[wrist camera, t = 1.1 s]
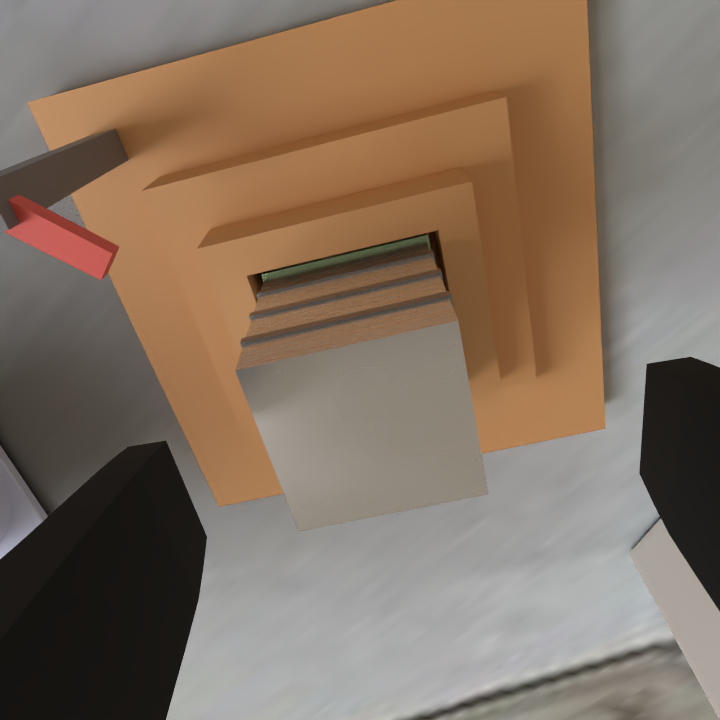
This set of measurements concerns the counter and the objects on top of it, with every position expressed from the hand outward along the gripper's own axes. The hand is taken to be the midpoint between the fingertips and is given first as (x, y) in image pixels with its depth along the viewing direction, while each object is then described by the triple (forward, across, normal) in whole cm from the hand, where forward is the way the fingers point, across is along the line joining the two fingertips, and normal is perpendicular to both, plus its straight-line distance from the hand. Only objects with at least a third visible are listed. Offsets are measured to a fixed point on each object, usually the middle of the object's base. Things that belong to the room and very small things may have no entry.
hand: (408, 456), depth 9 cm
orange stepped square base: (+10, +1, +1) cm, 10 cm away
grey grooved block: (+7, +1, +1) cm, 7 cm away
